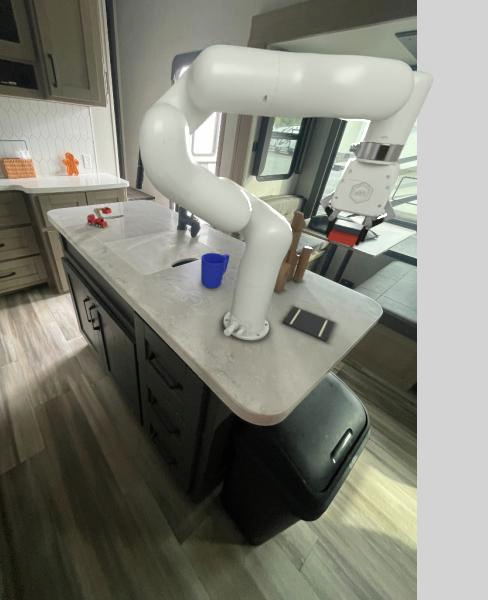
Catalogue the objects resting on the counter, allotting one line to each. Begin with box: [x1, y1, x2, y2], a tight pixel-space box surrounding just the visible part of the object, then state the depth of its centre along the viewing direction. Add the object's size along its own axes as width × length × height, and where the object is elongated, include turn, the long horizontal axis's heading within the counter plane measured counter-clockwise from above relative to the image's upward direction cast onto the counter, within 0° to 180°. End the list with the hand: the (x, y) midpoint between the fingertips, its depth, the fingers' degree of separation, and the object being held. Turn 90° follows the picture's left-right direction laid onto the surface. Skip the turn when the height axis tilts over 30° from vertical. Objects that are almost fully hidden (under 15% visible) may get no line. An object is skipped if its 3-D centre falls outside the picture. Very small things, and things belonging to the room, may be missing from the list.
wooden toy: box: [273, 210, 313, 293], centre depth 89 cm, size 15×7×25 cm, turn 129°
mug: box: [200, 252, 230, 289], centre depth 90 cm, size 8×12×10 cm
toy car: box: [326, 218, 365, 249], centre depth 62 cm, size 8×4×6 cm
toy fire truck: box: [86, 206, 112, 228], centre depth 128 cm, size 3×14×10 cm, turn 64°
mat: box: [282, 306, 335, 342], centre depth 78 cm, size 10×12×1 cm
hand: (343, 239), depth 63 cm, fingers closed on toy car, 5 cm apart
